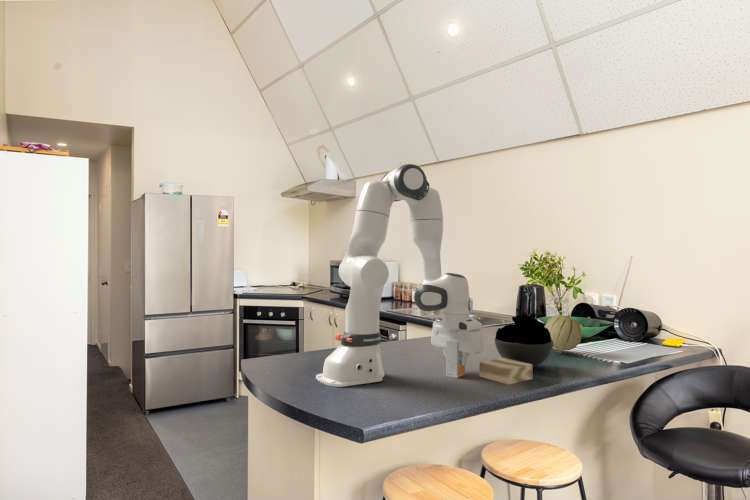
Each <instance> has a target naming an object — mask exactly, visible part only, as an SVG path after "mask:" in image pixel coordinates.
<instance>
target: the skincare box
mask: <svg viewBox="0 0 750 500" xmlns="http://www.w3.org/2000/svg"><path fill="white" fill-rule="evenodd" d="M462 357H463V355H462V352H461V351H458V341H453V340H447V341H446V356H445V376H446V377H447V378H448V377H450V378H455V379H458V378H460V377H462V376H465V375H466V365H460V359H462Z"/></svg>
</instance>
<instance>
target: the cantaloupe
mask: <svg viewBox="0 0 750 500" xmlns="http://www.w3.org/2000/svg"><path fill="white" fill-rule="evenodd" d="M544 327H545V328H547V329H548V330H549V332H550V334H551V340H553V347H552V348H553V349H555V350H557V351H571V350H573V349H575V348H577V347H578V345H579V344H580V343H581V340H582V335H583V334H582V333H583V331H582V328H581V325H580V324H579V322H578V321H577V320H576V319H574V318H573V317H571V314H570V313H568V314H567V315H564V314H557V315H554V316H552V317H550V318H549V320H547V322H546V323H545V325H544Z"/></svg>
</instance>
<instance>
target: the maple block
mask: <svg viewBox="0 0 750 500" xmlns="http://www.w3.org/2000/svg"><path fill="white" fill-rule="evenodd" d="M533 369H534V367H533V364H529V363H524V362H520V361H516V360H512V359H507V358H502V357H501V358H496V359H495V358H494V359H490V360H484V361H480V362H479V377H481V378H483V379H486V380H487V379H488V380H490V381H495V382H498V383H502V384H505V385H508V386H509V385H512V384H517V383H521V382H525V381H530V380H533V377H534V374H533Z"/></svg>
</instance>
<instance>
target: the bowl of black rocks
mask: <svg viewBox="0 0 750 500" xmlns="http://www.w3.org/2000/svg"><path fill="white" fill-rule="evenodd" d="M536 316H537V313H534V312H533V313H532V314H529V315H528V316H527V315H526V316H525V315H522V316H521V315H516V316H512V317H511V320H512V322H513V323H510V324H509V323H508V324H505V325H504V326H502V327H498V328H497V329H496V333H495V337H494V344H495V348H496V350H497V352H498V354H499V356H500V357H501V358H507V359H512V360H516V361H520V362H524V363H529V364H533V368H534V367H537V366H540V365H541V364H543V363H544V362H545V361H546V360H547V359H548V358H549V356H550V355H551V353H552V351H553V348H554V347H553V340H551V334H550V332H549V330H548V329H547V328H545V325H544V323H543V322H541V321H539V320H537V319H536Z"/></svg>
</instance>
